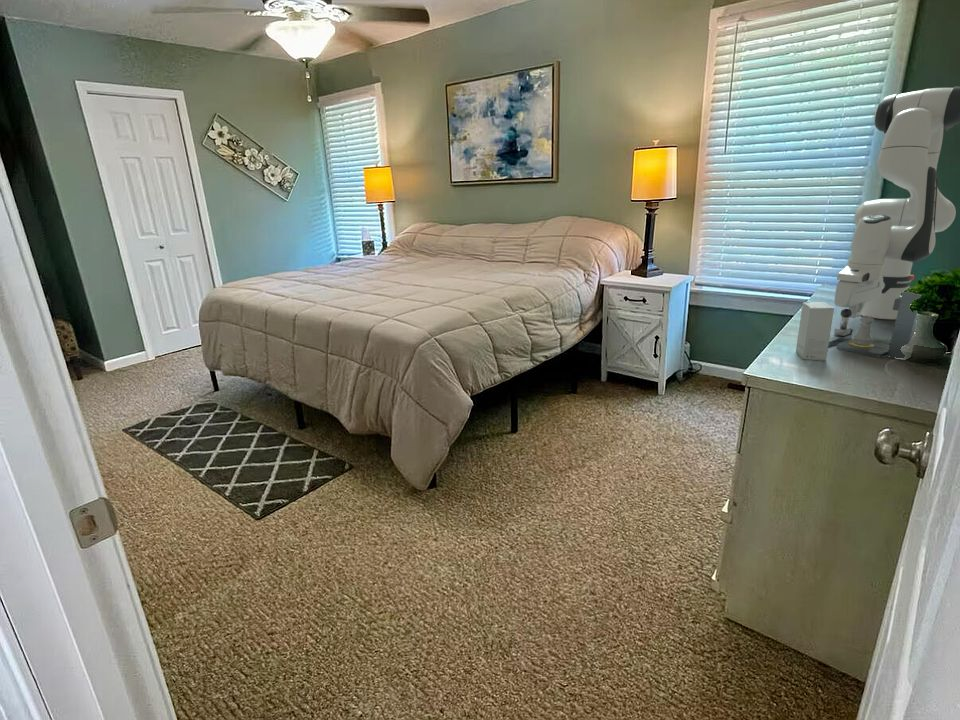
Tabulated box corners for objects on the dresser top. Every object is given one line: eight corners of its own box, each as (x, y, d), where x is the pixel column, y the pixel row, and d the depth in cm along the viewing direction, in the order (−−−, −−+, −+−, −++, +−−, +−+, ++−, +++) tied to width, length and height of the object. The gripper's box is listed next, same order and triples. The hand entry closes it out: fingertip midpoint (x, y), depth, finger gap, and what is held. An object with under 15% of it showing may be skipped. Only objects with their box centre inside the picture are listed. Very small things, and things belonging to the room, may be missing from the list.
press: (840, 336, 158) (852, 279, 152) (920, 353, 141) (937, 290, 135) (813, 345, 151) (825, 285, 145) (894, 364, 134) (910, 298, 128)
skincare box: (826, 361, 139) (837, 308, 134) (801, 359, 141) (810, 307, 136) (817, 351, 146) (827, 301, 141) (793, 350, 148) (802, 300, 143)
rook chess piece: (848, 341, 149) (854, 315, 146) (863, 340, 149) (869, 314, 146) (859, 346, 145) (865, 319, 142) (875, 345, 145) (881, 318, 142)
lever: (840, 331, 157) (845, 306, 154) (850, 333, 155) (855, 308, 152) (833, 333, 155) (838, 309, 152) (843, 335, 153) (848, 310, 150)
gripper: (869, 266, 158) (860, 309, 163) (834, 274, 149) (825, 320, 154) (893, 269, 153) (882, 313, 158) (858, 277, 144) (848, 324, 148)
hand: (854, 317), depth 156 cm, fingers closed
